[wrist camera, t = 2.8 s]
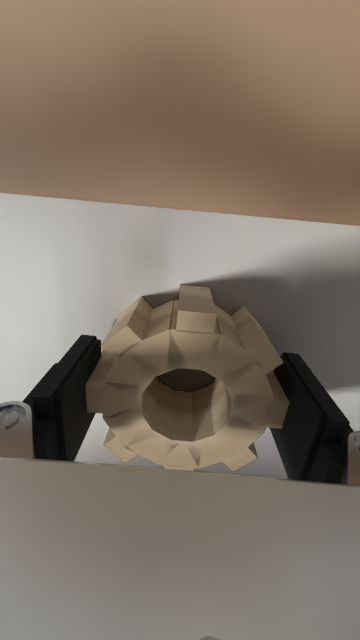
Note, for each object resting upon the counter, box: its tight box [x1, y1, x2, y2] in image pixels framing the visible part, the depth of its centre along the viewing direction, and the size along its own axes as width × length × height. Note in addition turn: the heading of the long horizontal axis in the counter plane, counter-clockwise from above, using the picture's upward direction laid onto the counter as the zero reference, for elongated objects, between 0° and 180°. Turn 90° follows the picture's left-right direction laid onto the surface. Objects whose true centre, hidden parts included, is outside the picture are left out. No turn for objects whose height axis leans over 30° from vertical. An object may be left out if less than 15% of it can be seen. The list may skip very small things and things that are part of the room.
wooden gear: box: [85, 285, 289, 472], centre depth 11 cm, size 7×7×3 cm
